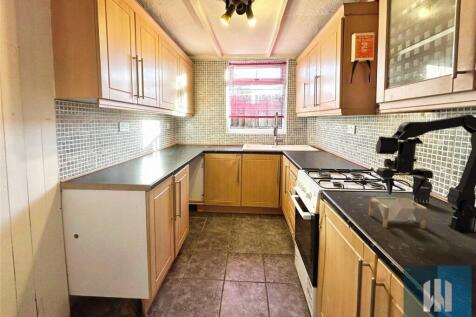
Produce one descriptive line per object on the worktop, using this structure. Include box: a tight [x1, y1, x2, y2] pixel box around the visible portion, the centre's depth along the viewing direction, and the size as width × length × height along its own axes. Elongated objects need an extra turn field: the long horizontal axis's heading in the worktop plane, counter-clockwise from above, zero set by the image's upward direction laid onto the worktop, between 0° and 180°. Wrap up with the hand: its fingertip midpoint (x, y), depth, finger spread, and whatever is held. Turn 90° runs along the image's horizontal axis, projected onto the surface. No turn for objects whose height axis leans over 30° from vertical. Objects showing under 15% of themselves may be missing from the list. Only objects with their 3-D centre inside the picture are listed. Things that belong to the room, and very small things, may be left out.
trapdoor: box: [377, 199, 417, 223], centre depth 110 cm, size 10×12×1 cm
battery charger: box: [412, 181, 433, 205], centre depth 133 cm, size 7×4×11 cm, turn 73°
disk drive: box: [372, 194, 398, 198], centre depth 133 cm, size 10×3×15 cm
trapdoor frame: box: [367, 196, 428, 229], centre depth 110 cm, size 13×15×8 cm
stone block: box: [390, 197, 416, 219], centre depth 106 cm, size 5×5×7 cm
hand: (401, 194), depth 106 cm, fingers open, 9 cm apart
